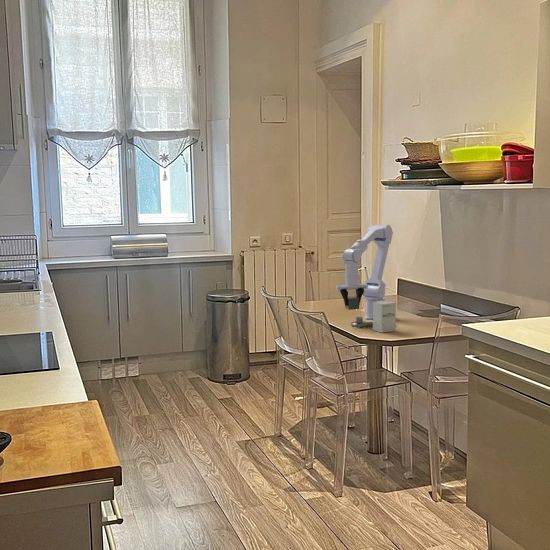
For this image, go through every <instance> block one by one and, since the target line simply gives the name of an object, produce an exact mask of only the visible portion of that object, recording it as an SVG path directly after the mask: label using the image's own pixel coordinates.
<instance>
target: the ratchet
mask: <svg viewBox="0 0 550 550" xmlns="http://www.w3.org/2000/svg"><path fill="white" fill-rule="evenodd" d="M363 319H364V318H363V316H355V321H351V322H350V327H351V326H352V327H351V328H354V327H365V328H367V326H373V321H363Z"/></svg>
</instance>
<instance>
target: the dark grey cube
mask: <svg viewBox="0 0 550 550" xmlns="http://www.w3.org/2000/svg"><path fill="white" fill-rule="evenodd" d="M344 309H346V310H348V311H350V310H359V309H360V305H359V298H358V297H356V296H355V295H354V296H348V306H345V305H344Z"/></svg>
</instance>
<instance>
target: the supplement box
mask: <svg viewBox="0 0 550 550" xmlns="http://www.w3.org/2000/svg"><path fill="white" fill-rule="evenodd" d="M385 300H386V299H385ZM396 306H397V305H396V302H395V301H390V300H386V301H376V302H373V319H372V322H373V327H372V330H373V331H376V332H378V333H380V332H381V333H387V332H389V333H390V332H396V327H397V326H396V321H397V320H396V319H397V318H396V315H397V314H396V311H397V310H396V309H397V307H396Z"/></svg>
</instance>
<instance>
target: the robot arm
mask: <svg viewBox="0 0 550 550" xmlns="http://www.w3.org/2000/svg"><path fill="white" fill-rule="evenodd" d="M367 231H368V232H366V234H365V235H364V237H362V239H357V240H356V241H355V242H354V243H353V245H351V247H349V248H347V249H345V250H344V251H343V252H342V256H341V258H342V260H343V264H344V266H345V272H344V273H345V274H344V275H345V284H341V285H335V291H339V292H340V294H341V296H342V299H343V303H344V307H345V306H348V297H349V291H348V290H355V294H356V297H358V298H359V306H360V303H361V300H362V297H364V300H365V314H364V318H365V319H366V320H373V302H376V301H386V298H384V297H385V296H386V283H385V282H384V280H382V278H383V275H384V270H385V266H386V261H387V258H388V257H387V256H388V252H389V249H390V245H391V242H392V239H393V236H394V235H393V234H394V231H393V228H392V225H390V224H387V225H386V224H385V225H384V224H383V225H382V224H371V225H370V226H369V227H368V229H367ZM372 241H373V243H374V244H376V246H377V247H376V252H375V255H374V256H375V257H374V259H373V266H372V268H371V269H372V270H371V273H370V277H369V278H367V279H366V280H365V281H364V283H359V262H360V260H361V257H362V256H363V254H364V252H366V251H367V249H368V247H369V246H368V245H369V244H370V243H372Z"/></svg>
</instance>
